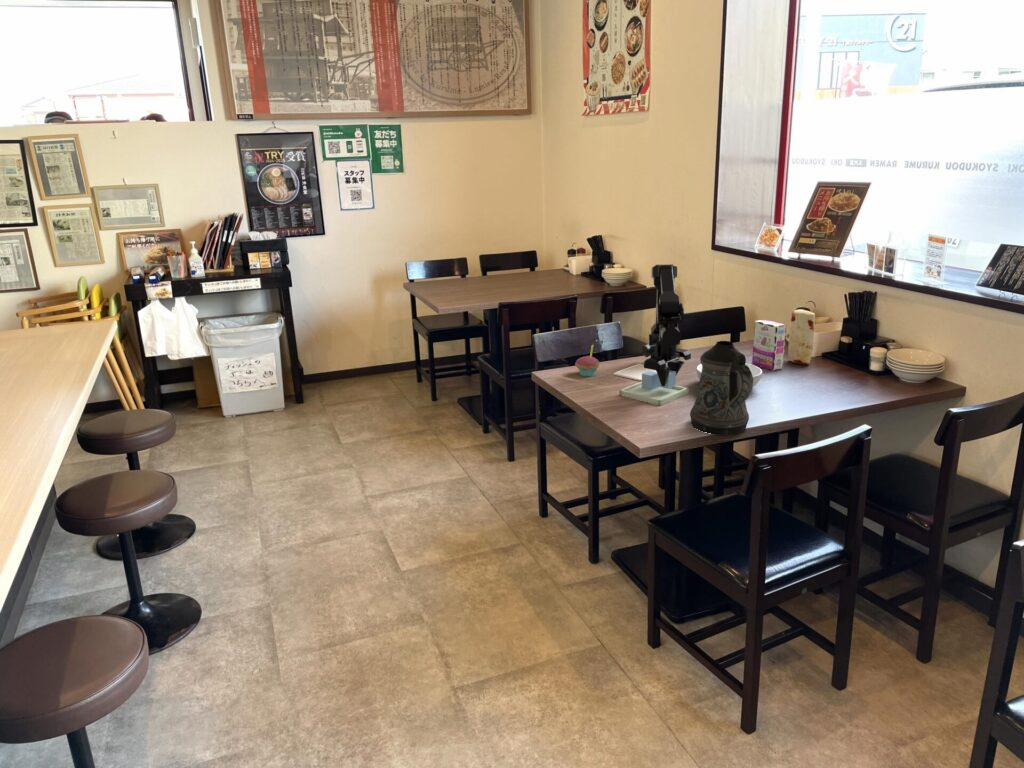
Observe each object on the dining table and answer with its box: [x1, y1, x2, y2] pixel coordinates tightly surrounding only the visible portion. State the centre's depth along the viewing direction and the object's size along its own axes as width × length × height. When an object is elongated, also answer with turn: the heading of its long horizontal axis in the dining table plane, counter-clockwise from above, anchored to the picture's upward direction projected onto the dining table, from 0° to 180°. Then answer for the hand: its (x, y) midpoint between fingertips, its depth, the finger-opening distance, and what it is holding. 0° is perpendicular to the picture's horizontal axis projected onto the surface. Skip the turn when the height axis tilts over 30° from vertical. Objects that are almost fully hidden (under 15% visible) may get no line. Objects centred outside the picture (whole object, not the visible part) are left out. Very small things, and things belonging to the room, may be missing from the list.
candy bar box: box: [751, 319, 787, 372], centre depth 269 cm, size 11×5×16 cm, turn 25°
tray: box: [618, 381, 689, 407], centre depth 246 cm, size 16×16×2 cm
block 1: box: [642, 371, 658, 390], centre depth 249 cm, size 4×4×5 cm
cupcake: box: [574, 344, 600, 377], centre depth 266 cm, size 9×8×12 cm
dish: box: [612, 363, 657, 382], centre depth 267 cm, size 15×13×1 cm
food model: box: [787, 308, 816, 366], centre depth 271 cm, size 10×7×20 cm
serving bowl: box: [696, 362, 763, 388], centre depth 249 cm, size 21×21×7 cm
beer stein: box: [689, 340, 754, 436], centre depth 213 cm, size 16×19×25 cm
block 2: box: [658, 370, 677, 389], centre depth 244 cm, size 4×4×5 cm
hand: (666, 384), depth 245 cm, fingers closed on block 2, 4 cm apart
